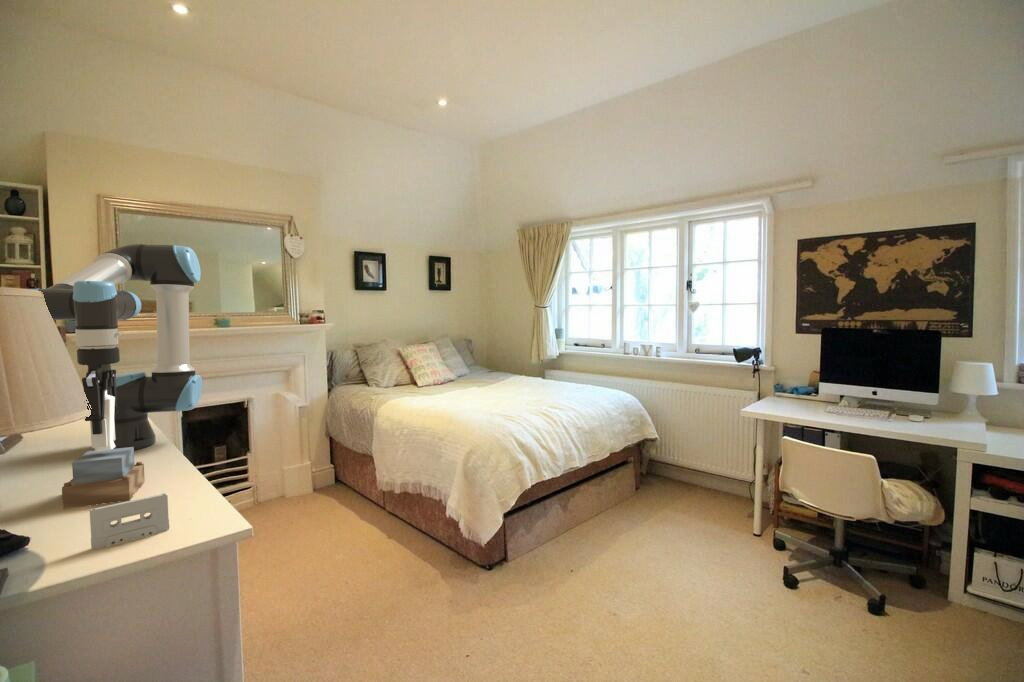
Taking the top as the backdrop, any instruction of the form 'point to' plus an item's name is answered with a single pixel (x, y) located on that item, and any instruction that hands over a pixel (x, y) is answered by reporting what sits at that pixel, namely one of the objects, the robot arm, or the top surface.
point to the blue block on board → (103, 478)
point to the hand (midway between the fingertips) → (103, 443)
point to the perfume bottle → (109, 421)
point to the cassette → (130, 530)
